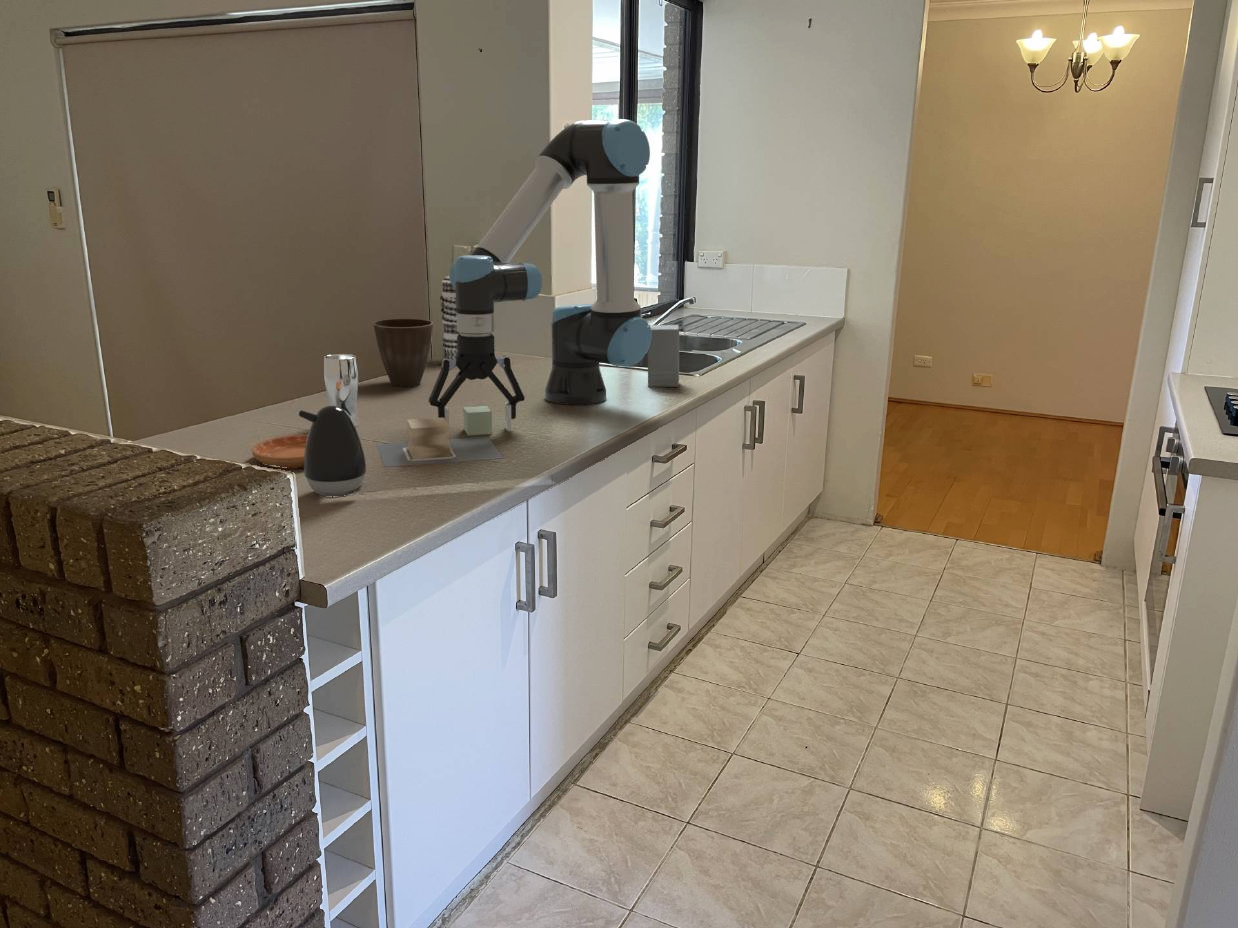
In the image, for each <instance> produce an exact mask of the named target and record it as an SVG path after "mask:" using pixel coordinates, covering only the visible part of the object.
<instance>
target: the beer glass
mask: <svg viewBox="0 0 1238 928" xmlns="http://www.w3.org/2000/svg"><path fill="white" fill-rule="evenodd" d="M357 362H358V361H357V356H356V355H354V354H349V353H335V354H327V355H325V356H324V357H323V375H324V376H323V378H324V385H325V390H326V395H327V398H328V402H329V406H338V407H340V408H342V409H343V410H345V412H346V413H347V414H348V415H349V417H350V418H351V420H352V422H353V424H354V426H355V428H356V427H358V425H360V422H359V417H358V413H357V398H358V392H359V390H358V389H359V371H358V363H357Z"/></svg>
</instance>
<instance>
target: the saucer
mask: <svg viewBox="0 0 1238 928" xmlns="http://www.w3.org/2000/svg"><path fill="white" fill-rule="evenodd" d="M307 436H308V434H291V435H284V436H278V437H272V438H270V439H268V438H267V439H265V440H262V441H260V442H258V443H256V444H255V445H254V446H252V448H251V453H252V456H253V458H255V459H256V460H257V461H258V462H260V463H261V462H262V463H261V464H263V463H264V464H267V465H276V466H280V467H276V468H275V469H283V468H282V467H287V468H286V469H297V468H296V467H304V453H305V446H306V441H307ZM267 454H271V455H269V456H268V455H267ZM264 464H263V465H264Z"/></svg>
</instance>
